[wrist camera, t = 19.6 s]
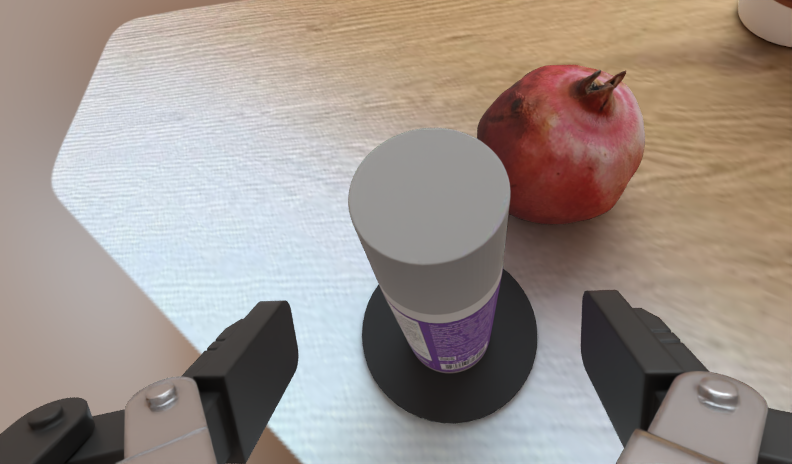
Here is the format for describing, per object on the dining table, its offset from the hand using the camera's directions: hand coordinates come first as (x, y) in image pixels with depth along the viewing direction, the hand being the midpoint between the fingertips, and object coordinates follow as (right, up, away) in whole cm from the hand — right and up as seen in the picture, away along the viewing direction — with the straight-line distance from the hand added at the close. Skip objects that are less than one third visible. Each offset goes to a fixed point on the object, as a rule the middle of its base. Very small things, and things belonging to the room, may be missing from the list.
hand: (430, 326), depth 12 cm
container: (+2, -3, +13) cm, 14 cm away
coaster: (+2, -3, +14) cm, 14 cm away
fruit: (+9, +6, +17) cm, 20 cm away
